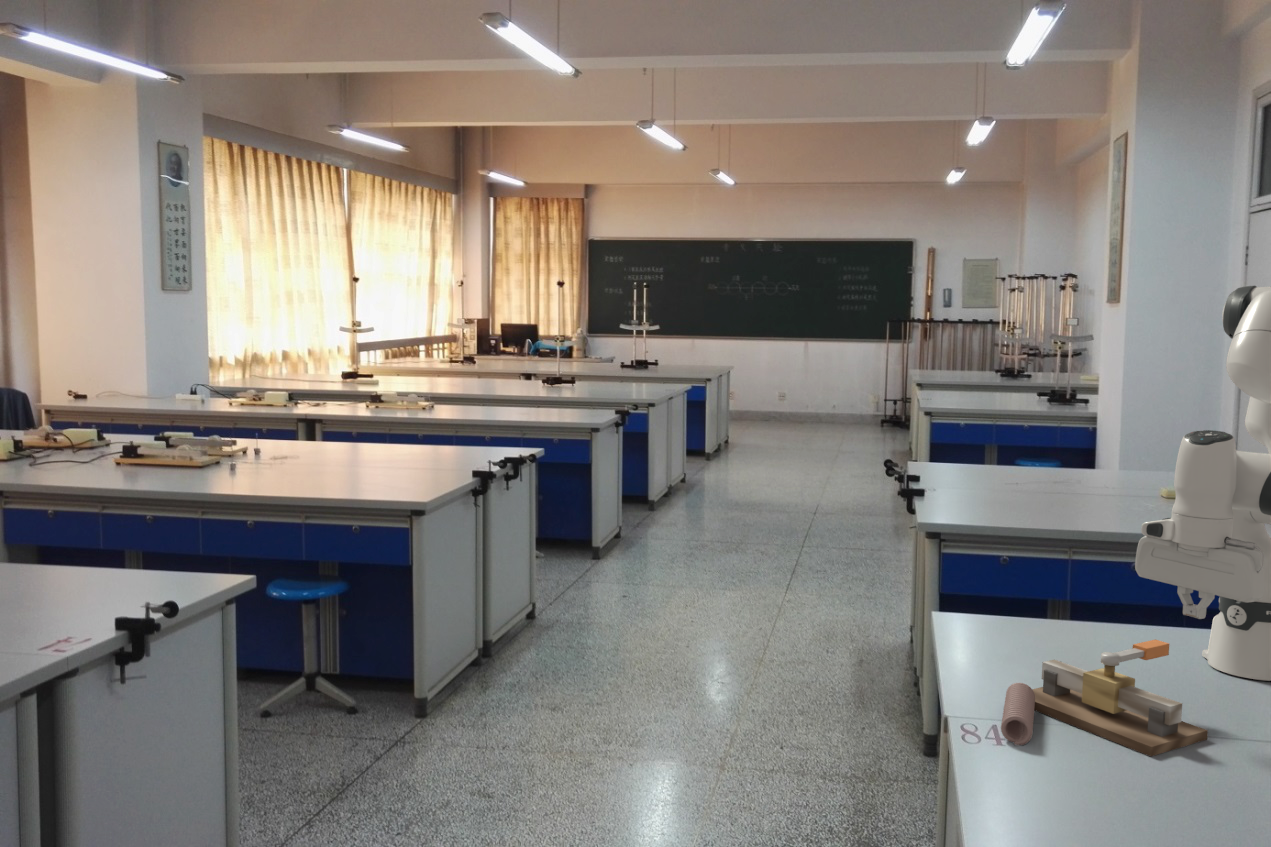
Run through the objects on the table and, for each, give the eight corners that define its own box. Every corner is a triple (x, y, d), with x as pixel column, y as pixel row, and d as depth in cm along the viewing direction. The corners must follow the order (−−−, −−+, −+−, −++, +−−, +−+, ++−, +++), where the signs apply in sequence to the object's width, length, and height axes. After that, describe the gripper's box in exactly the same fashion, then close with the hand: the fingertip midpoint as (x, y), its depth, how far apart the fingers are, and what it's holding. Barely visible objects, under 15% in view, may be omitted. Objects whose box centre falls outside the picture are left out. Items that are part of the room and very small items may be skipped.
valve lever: (1154, 650, 188) (1154, 639, 188) (1169, 655, 186) (1169, 643, 186) (1096, 663, 181) (1097, 651, 181) (1111, 668, 179) (1112, 656, 178)
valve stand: (1068, 688, 196) (1071, 637, 195) (1207, 739, 174) (1211, 682, 173) (1013, 702, 189) (1016, 649, 188) (1150, 756, 167) (1154, 696, 166)
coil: (1034, 721, 169) (1037, 684, 186) (1003, 714, 171) (1008, 678, 188) (1029, 750, 170) (1032, 711, 187) (998, 742, 171) (1004, 704, 188)
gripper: (1276, 543, 170) (1269, 630, 172) (1156, 520, 188) (1150, 599, 189) (1252, 546, 167) (1245, 635, 168) (1132, 522, 185) (1126, 603, 186)
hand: (1194, 616), depth 179 cm, fingers closed
